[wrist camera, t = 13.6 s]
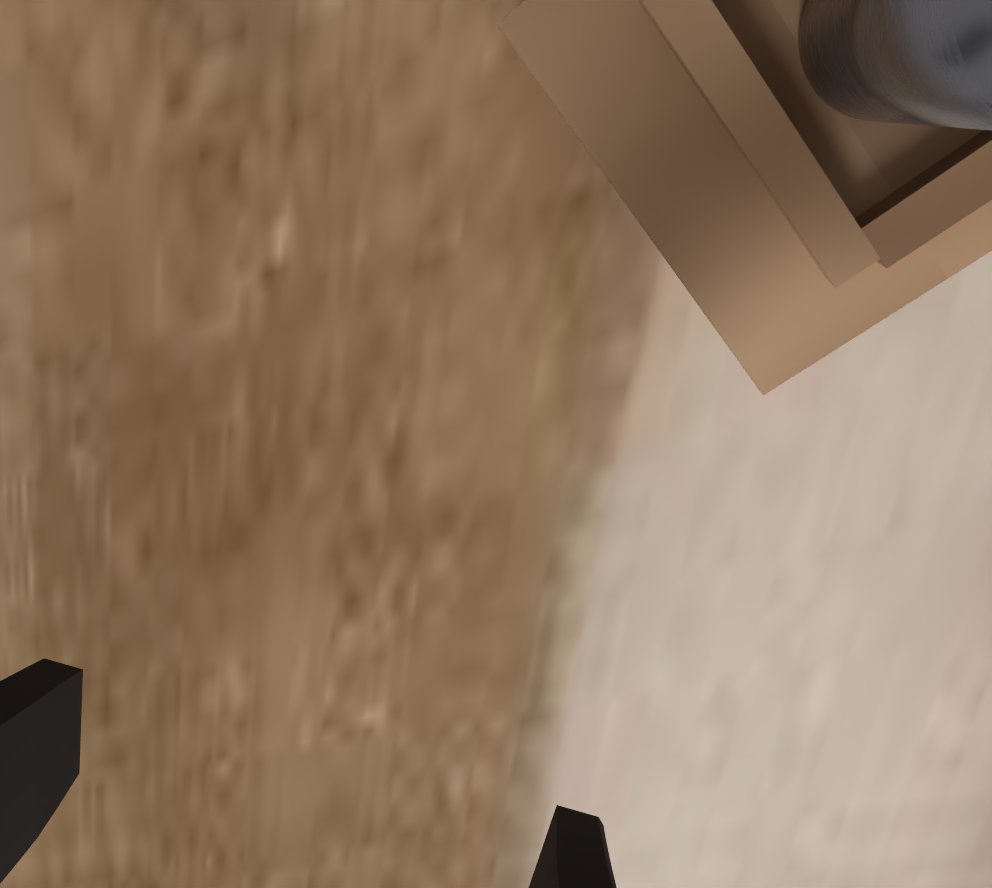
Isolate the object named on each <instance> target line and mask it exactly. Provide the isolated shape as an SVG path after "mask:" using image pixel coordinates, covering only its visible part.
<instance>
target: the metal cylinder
mask: <svg viewBox="0 0 992 888" xmlns="http://www.w3.org/2000/svg"><path fill="white" fill-rule="evenodd" d="M798 46H799V55H800V60H801V64H802V67H803V70H804V73H805V75H806V78H807V80H808V81H809V83H810V85H811V86H812V88H813V90H814V91H815V92H816V93H817V95H818V96H819V97H820V98H821V99H822V100H823V101H824V102H825V103H826V104H828V105H829V106H830V107H832V108H833V109H835V110H836V111H838V112H840V113H842V114H844V115H846V116H849V117H852V118H856V119H860V120H866V121H876V122H889V123H902V124H915V125H928V126H941V127H954V128H967V129H980V130H992V0H806V1H805V3H804V6H803V10H802V14H801V18H800V24H799V31H798Z"/></svg>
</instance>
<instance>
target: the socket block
mask: <svg viewBox="0 0 992 888" xmlns="http://www.w3.org/2000/svg"><path fill="white" fill-rule="evenodd" d="M805 1H806V0H524V1H523V2H522V3H521V4H520V5H519V6H517V7H516V8H515V9H514V10H513V11H512V12H511V13H510V14H509V15H508V16H506V17H505V18H504V19H503V20H502V21H501V22H500V23H499V24H498V25H497V26H498V27H499V28H500V30H501V31H502V33H503V34H504V35H505V37H506V38H507V40H508V41H509V42H510V44H511V45H512V47H513V48H514V49H515V51H516V52H517V53H518V55H519V56H520V58H521V59H522V60H523V62H524V63H525V65H526V66H527V67H528V69H529V70H530V72H531V73H532V74H533V76H534V77H535V79H536V80H537V81H538V83H539V84H540V86H541V87H542V88H543V90H544V91H545V92H546V94H547V95H548V97H549V98H550V99H551V101H552V102H553V104H554V105H555V106H556V108H557V109H558V111H559V112H560V113H561V115H562V116H563V118H564V119H565V120H566V122H567V123H568V124H569V126H570V127H571V129H572V130H573V131H574V133H575V134H576V136H577V137H578V138H579V140H580V141H581V143H582V144H583V145H584V147H585V148H586V150H587V151H588V152H589V154H590V155H591V156H592V158H593V159H594V161H595V162H596V163H597V165H598V166H599V168H600V169H601V170H602V172H603V173H604V175H605V176H606V177H607V179H608V180H609V182H610V183H611V184H612V186H613V187H614V188H615V190H616V191H617V193H618V194H619V195H620V197H621V198H622V200H623V201H624V202H625V204H626V205H627V207H628V208H629V209H630V211H631V212H632V214H633V215H634V216H635V218H636V219H637V220H638V222H639V223H640V225H641V226H642V227H643V229H644V230H645V232H646V233H647V234H648V236H649V237H650V239H651V240H652V241H653V243H654V244H655V246H656V247H657V248H658V250H659V251H660V252H661V254H662V255H663V257H664V258H665V259H666V261H667V262H668V264H669V265H670V266H671V268H672V269H673V271H674V272H675V273H676V275H677V276H678V278H679V279H680V280H681V282H682V283H683V284H684V286H685V287H686V289H687V290H688V291H689V293H690V294H691V296H692V297H693V298H694V300H695V301H696V303H697V304H698V305H699V307H700V308H701V310H702V311H703V312H704V314H705V315H706V316H707V318H708V319H709V321H710V322H711V323H712V325H713V326H714V328H715V329H716V330H717V332H718V333H719V335H720V336H721V337H722V339H723V340H724V342H725V343H726V344H727V346H728V347H729V349H730V350H731V351H732V353H733V354H734V355H735V357H736V358H737V360H738V361H739V362H740V364H741V365H742V367H743V368H744V369H745V371H746V372H747V374H748V375H749V376H750V378H751V379H752V381H753V382H754V383H755V385H756V386H757V387H758V389H759V390H760V392H761V393H762V394H763V395H765V394H766V393H768V392H769V391H771V390H773V389H774V388H776V387H777V386H779V385H780V384H782V383H784V382H785V381H787V380H788V379H790V378H791V377H793V376H795V375H796V374H798V373H799V372H801V371H803V370H804V369H806V368H807V367H809V366H810V365H812V364H814V363H815V362H817V361H818V360H820V359H821V358H823V357H825V356H826V355H828V354H829V353H831V352H832V351H834V350H836V349H837V348H839V347H840V346H842V345H844V344H845V343H847V342H848V341H850V340H851V339H853V338H855V337H856V336H858V335H859V334H861V333H862V332H864V331H866V330H867V329H869V328H870V327H872V326H873V325H875V324H877V323H878V322H880V321H881V320H883V319H884V318H886V317H888V316H889V315H891V314H892V313H894V312H896V311H897V310H899V309H900V308H902V307H903V306H905V305H907V304H908V303H910V302H911V301H913V300H914V299H916V298H918V297H919V296H921V295H922V294H924V293H925V292H927V291H929V290H930V289H932V288H933V287H935V286H937V285H938V284H940V283H941V282H943V281H944V280H946V279H948V278H949V277H951V276H952V275H954V274H955V273H957V272H959V271H960V270H962V269H963V268H965V267H966V266H968V265H970V264H971V263H973V262H974V261H976V260H978V259H979V258H981V257H982V256H984V255H985V254H987V253H989V252H990V251H992V130H980V129H967V128H954V127H941V126H928V125H915V124H902V123H889V122H876V121H866V120H860V119H856V118H852V117H849V116H846V115H844V114H842V113H840V112H838V111H836V110H835V109H833V108H832V107H830V106H829V105H828V104H826V103H825V102H824V101H823V100H822V99H821V98H820V97H819V96H818V95H817V93H816V92H815V91H814V90H813V88H812V86H811V85H810V83H809V81H808V80H807V78H806V75H805V73H804V70H803V67H802V64H801V60H800V55H799V46H798V31H799V24H800V18H801V14H802V10H803V6H804V3H805Z"/></svg>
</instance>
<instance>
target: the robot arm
mask: <svg viewBox="0 0 992 888" xmlns="http://www.w3.org/2000/svg"><path fill="white" fill-rule="evenodd" d="M82 679H83V669H79V668H76V667H72V666H69V665H65V664H62V663H58V662H55V661H51V660H48V659H42V660H40V661H38V662H36V663H34V664H32V665H30V666H28V667H26V668H24V669H23V670H21V671H19V672H17V673H15V674H13V675H11V676H9V677H7V678H6V679H4V680H2V681H0V883H1V882H2V881H3V879H4V878H5V877H6V876H7V875H8V873H9V872H10V871H11V870H12V868H13V867H14V866H15V865H16V864H17V862H18V861H19V860H20V859H21V857H22V856H23V855H24V854H25V853H26V851H27V850H28V849H29V848H30V846H31V845H32V844H33V843H34V841H35V840H36V839H37V837H38V836H39V834H40V833H41V831H42V830H43V828H44V827H45V825H46V824H47V822H48V821H49V819H50V818H51V816H52V815H53V814H54V812H55V811H56V809H57V807H58V806H59V804H60V803H61V801H62V800H63V798H64V796H65V795H66V793H67V792H68V790H69V788H70V787H71V785H72V784H73V782H74V781H75V779H76V777H77V776H78V774H79V766H80V737H81V708H82ZM529 888H616V884H615V880H614V875H613V871H612V867H611V862H610V858H609V853H608V848H607V843H606V838H605V832H604V826H603V824H602V822H601V821H600V819H599V817H596V816H593V815H589V814H586V813H582V812H579V811H575V810H572V809H568V808H565V807H561V806H558V805H557V806H556V809H555V812H554V815H553V818H552V821H551V824H550V827H549V830H548V833H547V836H546V839H545V842H544V844H543V847H542V850H541V853H540V856H539V859H538V862H537V865H536V868H535V871H534V874H533V877H532V880H531V883H530V886H529Z"/></svg>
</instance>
